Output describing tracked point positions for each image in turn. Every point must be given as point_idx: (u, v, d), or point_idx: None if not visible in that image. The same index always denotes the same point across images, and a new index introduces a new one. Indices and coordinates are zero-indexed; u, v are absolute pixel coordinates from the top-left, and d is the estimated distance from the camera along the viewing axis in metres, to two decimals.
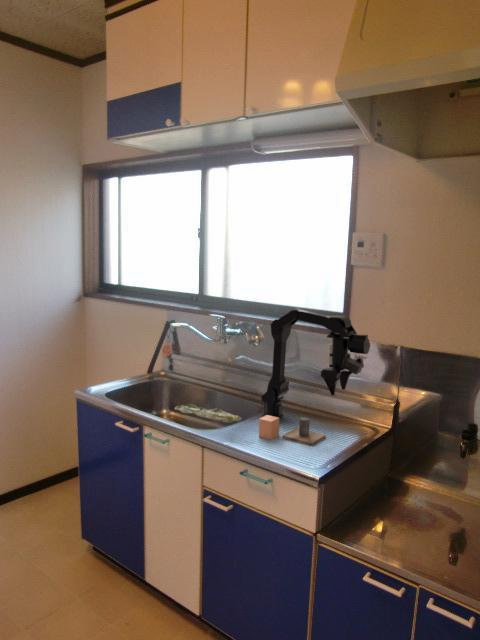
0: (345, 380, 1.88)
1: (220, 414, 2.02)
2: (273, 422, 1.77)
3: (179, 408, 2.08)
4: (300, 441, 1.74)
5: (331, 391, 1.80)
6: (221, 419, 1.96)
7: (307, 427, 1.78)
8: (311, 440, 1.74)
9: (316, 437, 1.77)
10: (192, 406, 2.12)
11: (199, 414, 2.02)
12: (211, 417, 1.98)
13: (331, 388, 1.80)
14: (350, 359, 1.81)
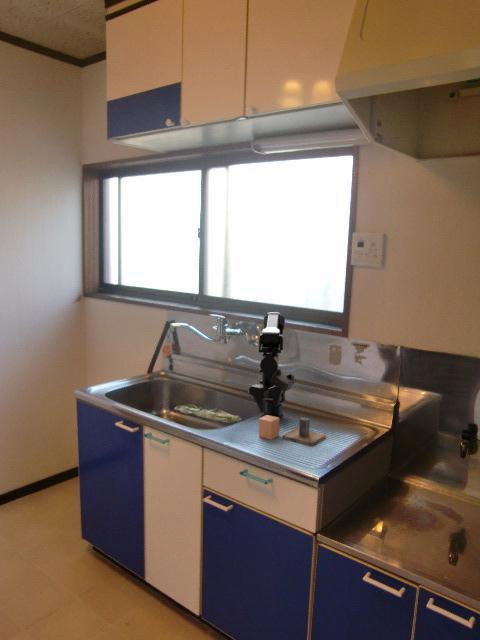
0: (278, 396, 1.82)
1: (220, 414, 2.01)
2: (273, 422, 1.77)
3: (179, 408, 2.08)
4: (300, 441, 1.74)
5: (260, 408, 1.75)
6: (221, 419, 1.96)
7: (307, 427, 1.78)
8: (311, 440, 1.74)
9: (316, 437, 1.77)
10: (192, 406, 2.11)
11: (199, 414, 2.01)
12: (211, 417, 1.98)
13: (260, 405, 1.75)
14: (280, 375, 1.76)
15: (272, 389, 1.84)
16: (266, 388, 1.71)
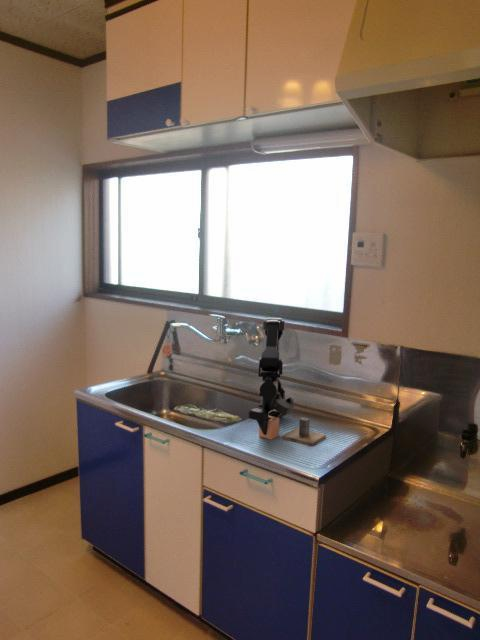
0: None
1: (220, 414, 2.01)
2: (273, 422, 1.77)
3: (179, 408, 2.08)
4: (300, 441, 1.74)
5: (263, 430, 1.78)
6: (221, 419, 1.95)
7: (307, 427, 1.78)
8: (311, 440, 1.74)
9: (316, 437, 1.77)
10: (192, 406, 2.11)
11: (199, 414, 2.01)
12: (211, 417, 1.98)
13: (263, 428, 1.77)
14: (279, 399, 1.77)
15: (269, 413, 1.83)
16: (266, 412, 1.72)
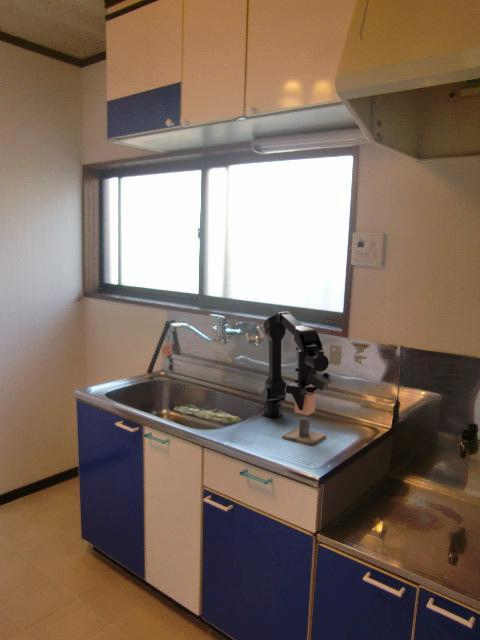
0: None
1: (219, 415, 2.01)
2: (310, 397, 1.74)
3: (178, 409, 2.07)
4: (300, 441, 1.74)
5: (299, 406, 1.75)
6: (220, 420, 1.95)
7: (307, 427, 1.78)
8: (311, 440, 1.74)
9: (316, 437, 1.77)
10: (191, 407, 2.11)
11: (198, 415, 2.01)
12: (210, 418, 1.97)
13: (299, 403, 1.74)
14: (316, 374, 1.74)
15: None
16: (303, 387, 1.70)
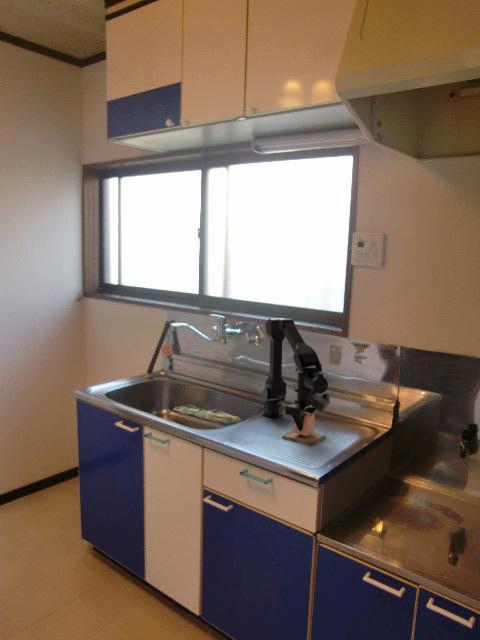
0: None
1: (219, 415, 2.01)
2: (309, 418, 1.76)
3: (178, 409, 2.07)
4: (300, 441, 1.74)
5: (298, 427, 1.76)
6: (221, 420, 1.95)
7: None
8: (311, 440, 1.74)
9: (316, 437, 1.77)
10: (191, 407, 2.11)
11: (198, 415, 2.01)
12: (210, 418, 1.97)
13: (298, 424, 1.75)
14: (315, 395, 1.75)
15: None
16: (302, 408, 1.71)
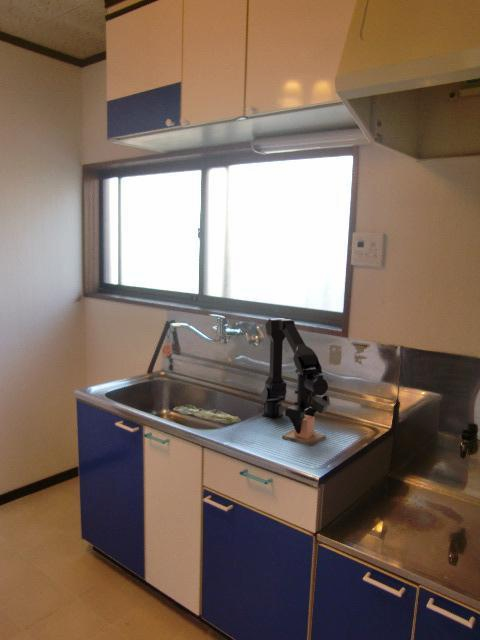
0: None
1: (219, 415, 2.00)
2: (309, 421, 1.76)
3: (178, 409, 2.07)
4: (300, 441, 1.74)
5: (297, 429, 1.75)
6: (220, 420, 1.95)
7: None
8: (311, 440, 1.74)
9: (316, 437, 1.77)
10: (191, 407, 2.10)
11: (198, 415, 2.00)
12: (210, 418, 1.97)
13: (296, 426, 1.74)
14: (315, 396, 1.75)
15: (305, 410, 1.83)
16: (302, 410, 1.71)
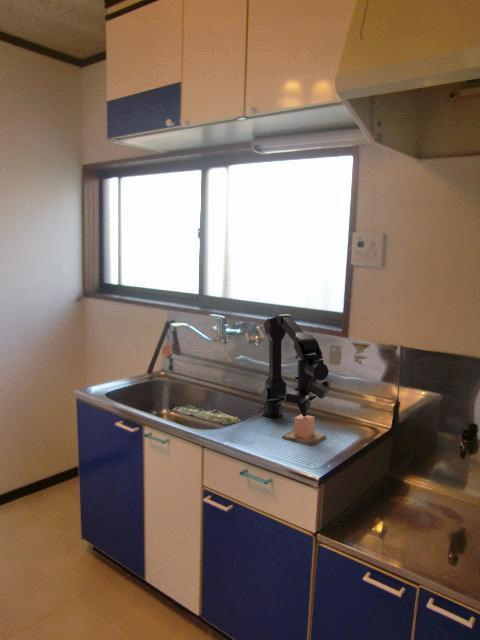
0: (307, 406, 1.78)
1: (219, 415, 2.00)
2: (309, 421, 1.76)
3: (178, 409, 2.06)
4: (300, 441, 1.74)
5: (302, 412, 1.77)
6: (220, 420, 1.94)
7: None
8: (311, 440, 1.74)
9: (316, 437, 1.77)
10: (191, 407, 2.10)
11: (198, 415, 2.00)
12: (210, 418, 1.96)
13: (302, 409, 1.77)
14: (316, 382, 1.74)
15: None
16: (303, 395, 1.70)
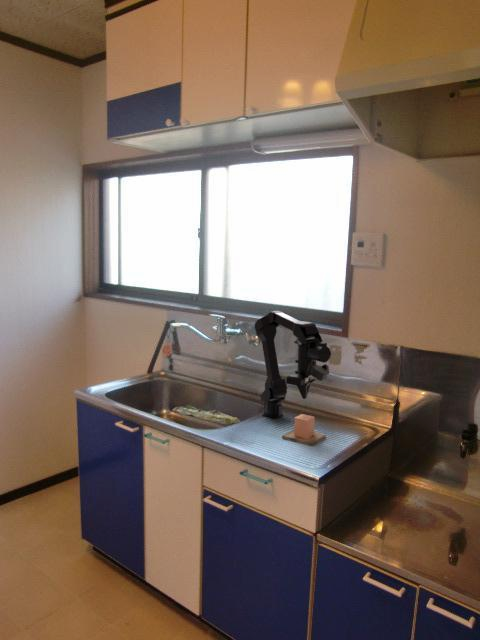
0: (306, 389, 1.85)
1: (218, 416, 2.00)
2: (309, 421, 1.76)
3: (177, 409, 2.06)
4: (300, 441, 1.74)
5: (302, 395, 1.85)
6: (219, 421, 1.94)
7: None
8: (311, 440, 1.74)
9: (316, 437, 1.77)
10: (191, 408, 2.10)
11: (197, 416, 2.00)
12: (209, 419, 1.96)
13: (302, 392, 1.84)
14: (315, 365, 1.82)
15: None
16: (303, 378, 1.77)
